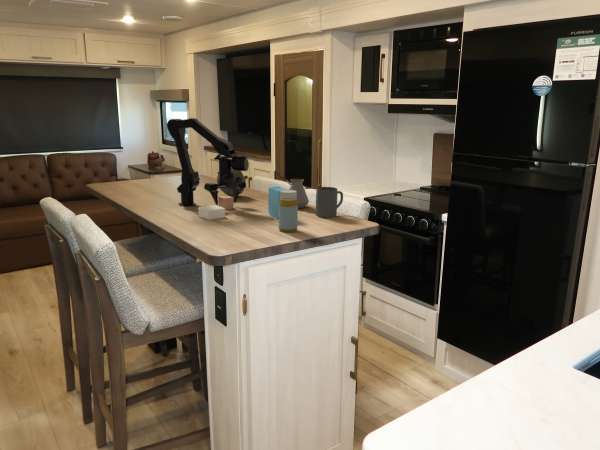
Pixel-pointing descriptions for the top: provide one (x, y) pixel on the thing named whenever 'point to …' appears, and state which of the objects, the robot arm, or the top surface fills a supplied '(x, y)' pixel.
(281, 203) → the bottle
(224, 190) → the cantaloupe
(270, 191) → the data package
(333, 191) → the mug
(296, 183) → the coffee pot
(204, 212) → the base block
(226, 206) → the terracotta cube
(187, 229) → the top surface
